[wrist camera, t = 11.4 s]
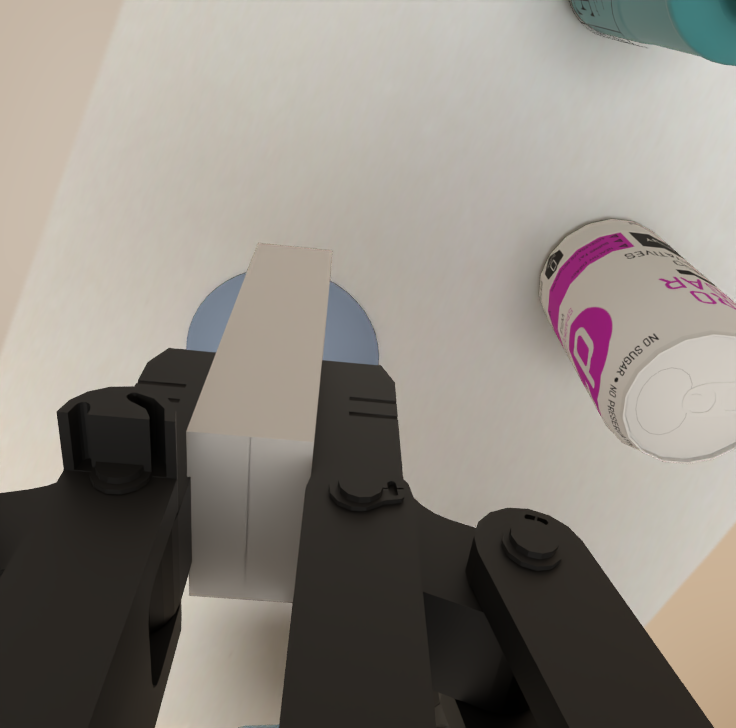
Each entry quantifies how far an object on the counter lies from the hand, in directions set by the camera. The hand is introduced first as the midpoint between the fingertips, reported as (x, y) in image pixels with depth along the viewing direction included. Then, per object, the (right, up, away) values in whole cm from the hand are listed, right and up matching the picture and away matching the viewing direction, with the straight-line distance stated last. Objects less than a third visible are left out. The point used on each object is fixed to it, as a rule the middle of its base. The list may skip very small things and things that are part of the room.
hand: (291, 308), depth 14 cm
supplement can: (+17, +5, +31) cm, 35 cm away
